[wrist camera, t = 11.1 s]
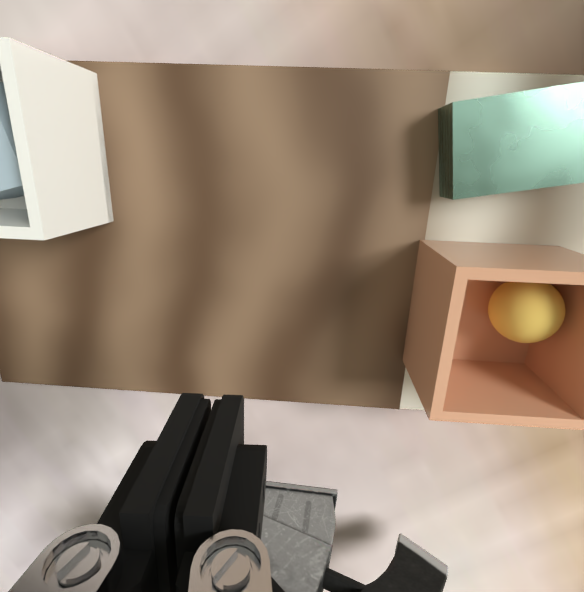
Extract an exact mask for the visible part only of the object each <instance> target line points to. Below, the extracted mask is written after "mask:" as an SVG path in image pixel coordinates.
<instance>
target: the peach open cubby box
mask: <svg viewBox="0 0 584 592" xmlns="http://www.w3.org/2000/svg"><path fill="white" fill-rule="evenodd" d="M506 281H507V282H528V283H549V284H551V285H552V286H554V287H555V288H556V289H557V290H558V291H559V293H560V294H561V296H562V298H563V300H564V303H565V309H566V312H565V318H564V321H563V323H562V325H561V327H560V328H559V330H558V331H557V332H556V333H555V334H553V335H552V336H551V337H549V338H547V339H545V340H542V341H539V342H535V343H520V342H515V341H512V340H510V339H508V338H506V337H504V336H503V335H501V334H500V333H499V332H498V331H497V330H496V329H495V328H494V327H493V325H492V323H491V321H490V319H489V315H488V304H489V300H490V298H491V296H492V294H493V292H494V291H495V290H496V289H497V288H498V287H499V286H500V285H501V284H503V283H505V282H506ZM403 362H404V365H405V367H406V369H407V371H408V374H409V376H410V378H411V380H412V383H413V385H414V387H415V389H416V392H417V394H418V396H419V398H420V401H421V403H422V405H423V407H424V410H425V412H426V414H427V416H428V418H429V420H435V421H451V422H466V423H482V424H498V425H513V426H529V427H545V428H560V429H576V430H584V254H581V253H578V252H576V251H573V250H570V249H567V248H564V247H561V246H550V245H527V244H504V243H482V242H459V241H436V240H420V242H419V249H418V256H417V263H416V269H415V276H414V283H413V290H412V297H411V304H410V311H409V318H408V325H407V332H406V339H405V346H404V353H403Z"/></svg>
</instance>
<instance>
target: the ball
mask: <svg viewBox="0 0 584 592" xmlns="http://www.w3.org/2000/svg"><path fill="white" fill-rule="evenodd" d="M565 312H566V309H565V303H564V300H563V298H562V296H561V294H560V293H559V291H558V290H557V289H556V288H555V287H554V286H552V285H551V284H549V283H528V282H507V281H506V282H505V283H503V284H501V285H500V286H499V287H498V288H497V289H496V290H495V291H494V292H493V294H492V296H491V298H490V300H489V304H488V315H489V319H490V321H491V323H492V325H493V327H494V328H495V329H496V330H497V331H498V332H499V333H500V334H501V335H503V336H504V337H506V338H508V339H510V340H512V341H515V342H520V343H535V342H539V341H542V340H545V339H547V338H549V337H551V336H552V335H553V334H555V333H556V332H557V331H558V330H559V328H560V327H561V325H562V323H563V321H564V318H565Z"/></svg>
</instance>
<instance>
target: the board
mask: <svg viewBox="0 0 584 592" xmlns="http://www.w3.org/2000/svg"><path fill="white" fill-rule="evenodd" d="M68 62H70V63H73V64H75V65H77V66H80V67H82V68H85V69H87V70H90V71H92V72H94V73H97V80H98V89H99V98H100V106H101V115H102V124H103V133H104V142H105V150H106V159H107V168H108V177H109V186H110V194H111V203H112V212H113V222H109V223H106V224H102V225H99V226H95V227H91V228H88V229H84V230H80V231H77V232H73V233H70V234H66V235H62V236H59V237H55V238H52V239H48V240H26V239H6V238H0V374H1V378H2V381H3V382H18V383H32V384H46V385H61V386H75V387H90V388H104V389H118V390H133V391H147V392H162V393H176V394H182V393H200V394H203V395H205V396H219V397H222V396H223V395H224V394H225V395H243V397H244V398H248V399H262V400H277V401H291V402H306V403H320V404H334V405H349V406H363V407H377V408H392V409H413V410H424V407H423V405H422V403H421V401H420V398H419V396H418V394H417V392H416V389H415V387H414V385H413V383H412V380H411V378H410V376H409V374H408V371H407V369H406V367H405V365H404V362H403V353H404V346H405V339H406V332H407V325H408V318H409V311H410V304H411V297H412V290H413V283H414V276H415V269H416V263H417V256H418V249H419V242H420V240H436V241H459V242H482V243H504V244H527V245H550V246H561V247H564V248H567V249H570V250H573V251H576V252H578V253H581V254H584V183H577V184H570V185H562V186H554V187H547V188H539V189H532V190H524V191H517V192H509V193H501V194H494V195H486V196H479V197H471V198H464V199H456V200H452V199H448V198H444V197H440V196H439V138H438V108H441V107H443V106H445V105H447V104H449V103H452V102H456V101H463V100H469V99H475V98H482V97H488V96H495V95H501V94H507V93H514V92H520V91H527V90H533V89H539V88H546V87H552V86H559V85H565V84H571V83H578V82H584V75H571V74H534V73H496V72H459V71H432V70H394V69H357V68H320V67H282V66H245V65H208V64H171V63H133V62H96V61H68Z"/></svg>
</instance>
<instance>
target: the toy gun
mask: <svg viewBox="0 0 584 592" xmlns="http://www.w3.org/2000/svg"><path fill="white" fill-rule="evenodd" d="M336 500H337V490H334V489H326V488H318V487H310V486H301V485H293V484H285V483H277V482H269V481H266V490H265V503H264V513H263V523H262V534H261V541H262V542H263V544H264V545H265V547H266V548H267V552H268V556H269V559H270V571H271V577H272V578H273V579H274V580H275V581H276V582H277V583H278V585H279V586H280V587H281V588H282V589H283V590H284V591H285V592H323V589H326V590H328V591H330V592H443V589H444V586H445V582H446V579H447V576H448V566H447V565H445V564H444V563H443V562H441V561H440V560H438V559H437V558H435V557H434V556H433V555H431V554H430V553H428V552H427V551H425V550H424V549H422V548H421V547H420V546H418V545H417V544H415V543H414V542H412V541H411V540H409V539H408V538H407V537H405V536H404V535H402V534H399V537H398V541H397V545H396V550H395V556H394V558H393V560H392V561H391V563H390V565H389V566H388V568H387V570H386V571H385V572H384V573H383V574H382V575H381V576H380V577H379V578H378V579H376V580H375V581H373V582H372V583H370V584H367V585H364V584H362V583H360V582H357V581H355V580H353V579H351V578H349V577H347V576H344V575H342V574H340V573H338V572H336V571H334V570H331V569H329V563H330V557H331V551H332V542H333V537H334V531H335V525H336V522H335V506H336Z"/></svg>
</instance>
